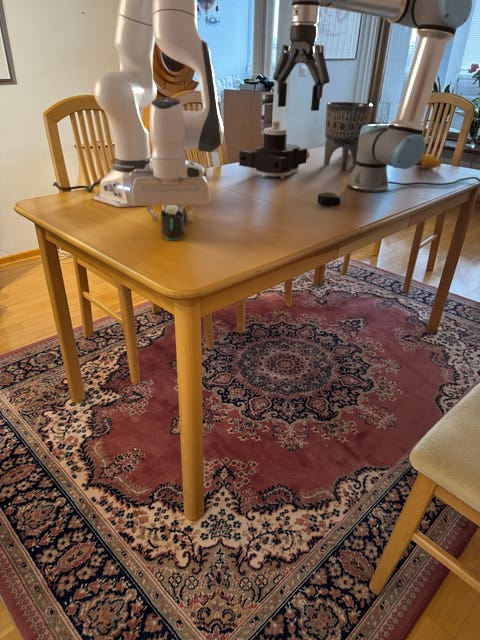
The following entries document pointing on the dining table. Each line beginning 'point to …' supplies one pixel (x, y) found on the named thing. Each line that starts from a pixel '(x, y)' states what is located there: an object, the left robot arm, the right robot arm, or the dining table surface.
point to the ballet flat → (173, 221)
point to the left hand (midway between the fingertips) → (172, 220)
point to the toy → (428, 162)
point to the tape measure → (328, 199)
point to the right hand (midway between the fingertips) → (297, 108)
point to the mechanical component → (274, 154)
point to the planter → (345, 128)
